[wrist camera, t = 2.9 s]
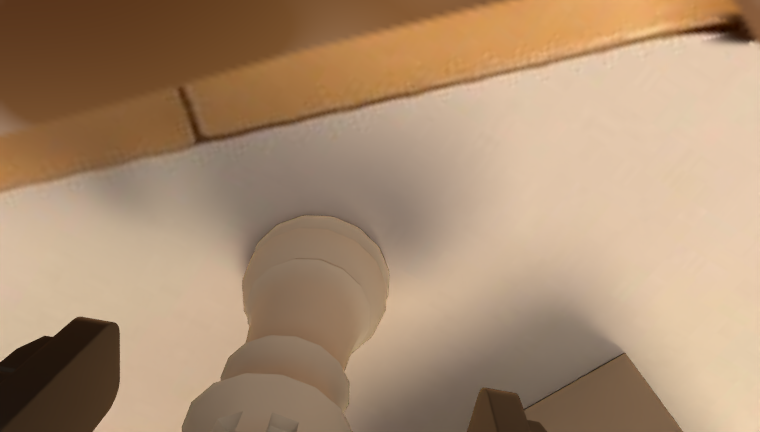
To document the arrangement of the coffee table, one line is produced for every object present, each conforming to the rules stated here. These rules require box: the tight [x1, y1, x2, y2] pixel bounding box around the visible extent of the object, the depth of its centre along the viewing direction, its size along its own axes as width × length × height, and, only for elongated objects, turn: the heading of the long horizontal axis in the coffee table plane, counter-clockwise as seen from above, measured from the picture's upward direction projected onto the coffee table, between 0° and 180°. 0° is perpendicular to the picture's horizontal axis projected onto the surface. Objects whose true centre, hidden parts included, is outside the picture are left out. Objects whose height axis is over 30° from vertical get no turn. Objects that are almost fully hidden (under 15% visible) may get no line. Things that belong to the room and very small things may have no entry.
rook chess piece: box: [182, 215, 389, 432], centre depth 12 cm, size 4×4×8 cm
